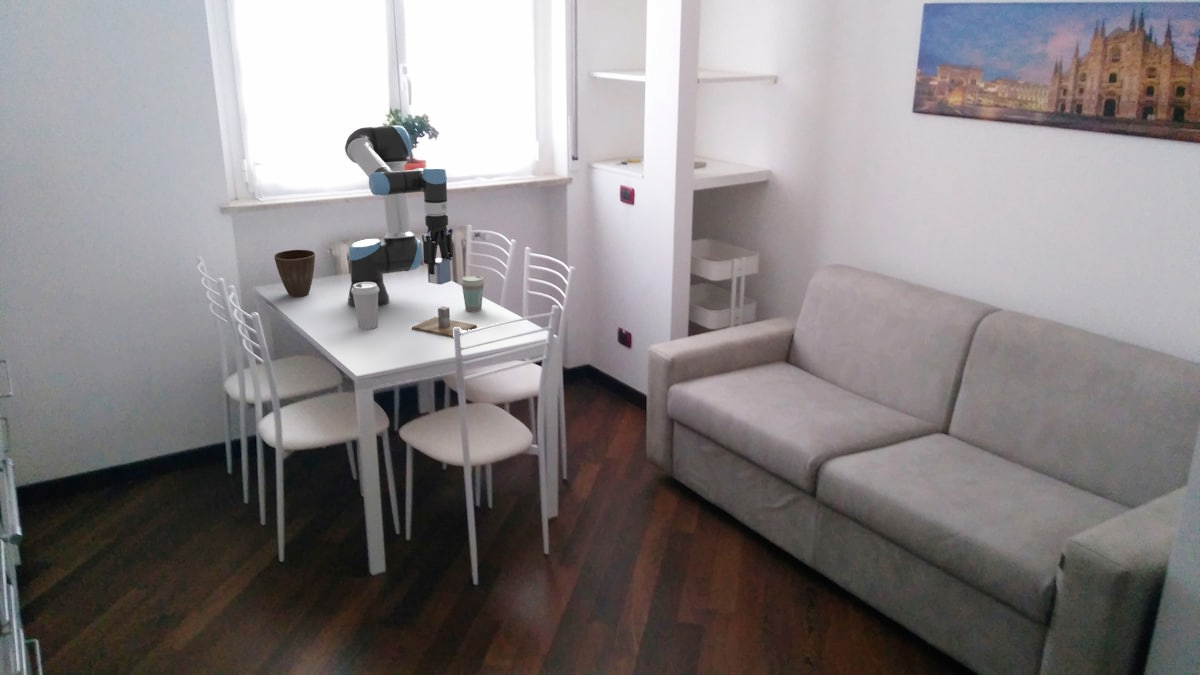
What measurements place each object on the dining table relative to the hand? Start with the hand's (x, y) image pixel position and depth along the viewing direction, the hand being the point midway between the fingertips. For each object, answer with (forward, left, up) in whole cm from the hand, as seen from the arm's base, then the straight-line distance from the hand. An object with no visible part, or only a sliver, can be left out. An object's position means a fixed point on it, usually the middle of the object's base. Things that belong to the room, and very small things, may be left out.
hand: (439, 280), depth 314 cm
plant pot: (-73, +5, -17) cm, 75 cm away
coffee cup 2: (-4, +24, -17) cm, 30 cm away
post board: (0, +1, -17) cm, 17 cm away
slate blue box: (0, 0, 0) cm, 0 cm away
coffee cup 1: (-24, -11, -17) cm, 31 cm away
